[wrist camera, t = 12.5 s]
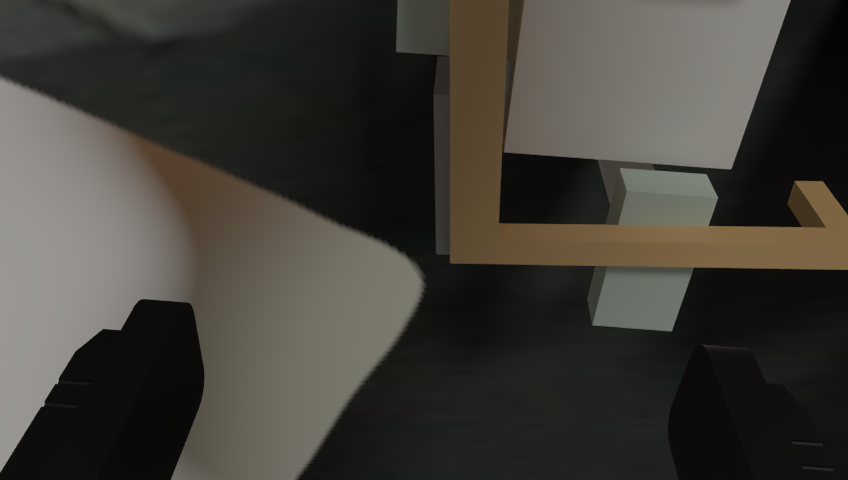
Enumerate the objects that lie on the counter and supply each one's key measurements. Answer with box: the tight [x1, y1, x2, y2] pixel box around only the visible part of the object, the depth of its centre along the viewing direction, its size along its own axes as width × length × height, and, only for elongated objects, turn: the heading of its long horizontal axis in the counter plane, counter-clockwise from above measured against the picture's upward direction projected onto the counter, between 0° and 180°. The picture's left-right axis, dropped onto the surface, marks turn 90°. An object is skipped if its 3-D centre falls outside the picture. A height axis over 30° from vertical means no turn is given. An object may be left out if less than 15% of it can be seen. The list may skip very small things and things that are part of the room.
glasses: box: [434, 0, 848, 270], centre depth 21 cm, size 16×14×4 cm
